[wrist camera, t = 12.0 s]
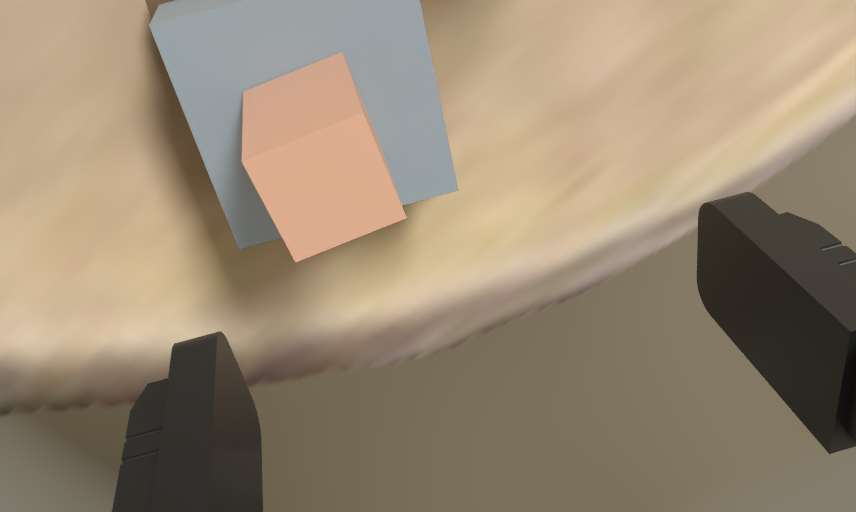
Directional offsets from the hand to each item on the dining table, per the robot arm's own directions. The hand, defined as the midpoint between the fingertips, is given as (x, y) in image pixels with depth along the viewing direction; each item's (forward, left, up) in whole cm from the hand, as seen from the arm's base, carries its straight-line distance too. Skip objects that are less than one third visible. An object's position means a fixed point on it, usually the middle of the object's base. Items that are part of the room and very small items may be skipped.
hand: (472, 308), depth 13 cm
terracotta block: (+6, -3, -26) cm, 26 cm away
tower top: (+6, -2, -30) cm, 30 cm away
